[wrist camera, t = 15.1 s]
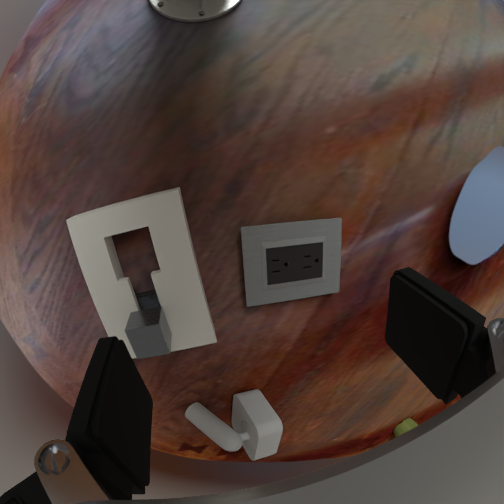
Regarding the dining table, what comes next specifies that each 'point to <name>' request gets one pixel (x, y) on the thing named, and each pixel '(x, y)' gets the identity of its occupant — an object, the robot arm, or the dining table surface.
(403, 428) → the plant pot
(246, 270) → the electrical outlet
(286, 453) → the dining table surface
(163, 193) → the keyhole plate
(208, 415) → the wall hook
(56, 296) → the dining table surface
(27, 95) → the dining table surface
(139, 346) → the keyhole peg
